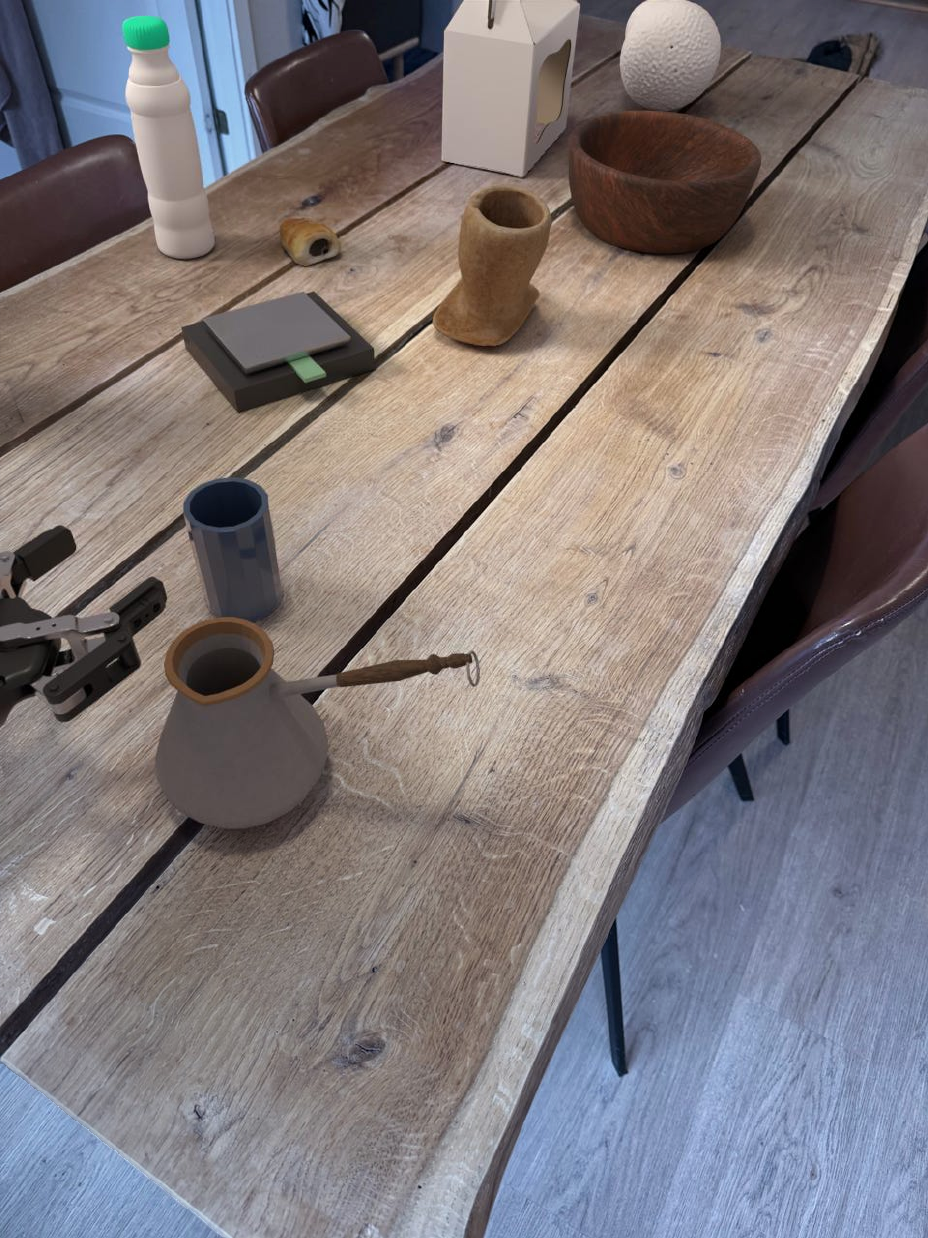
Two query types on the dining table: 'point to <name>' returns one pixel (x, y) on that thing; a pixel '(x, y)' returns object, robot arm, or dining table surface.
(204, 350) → the scale
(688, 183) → the wooden bowl
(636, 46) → the decorative orb
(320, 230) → the pastry
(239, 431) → the dining table surface
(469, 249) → the stone cup
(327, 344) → the scale pan
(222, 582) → the cup
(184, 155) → the water bottle
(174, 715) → the coffee pot
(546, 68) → the gable box
